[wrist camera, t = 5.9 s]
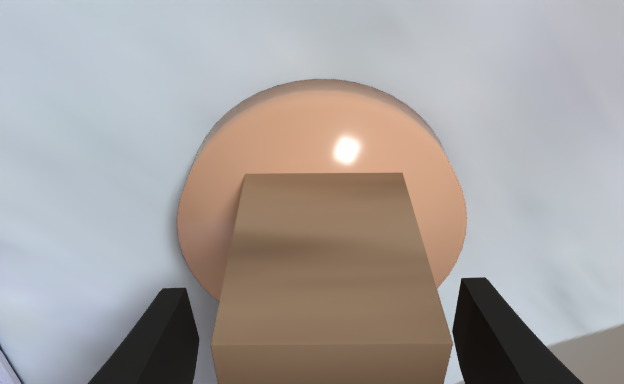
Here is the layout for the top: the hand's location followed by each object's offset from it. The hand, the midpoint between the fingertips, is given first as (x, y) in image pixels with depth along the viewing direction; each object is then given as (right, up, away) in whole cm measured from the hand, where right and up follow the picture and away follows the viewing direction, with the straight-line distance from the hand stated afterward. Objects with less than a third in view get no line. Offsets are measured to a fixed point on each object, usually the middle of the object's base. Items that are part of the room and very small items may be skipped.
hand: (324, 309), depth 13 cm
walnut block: (0, +2, +2) cm, 3 cm away
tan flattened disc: (0, +3, +4) cm, 5 cm away
